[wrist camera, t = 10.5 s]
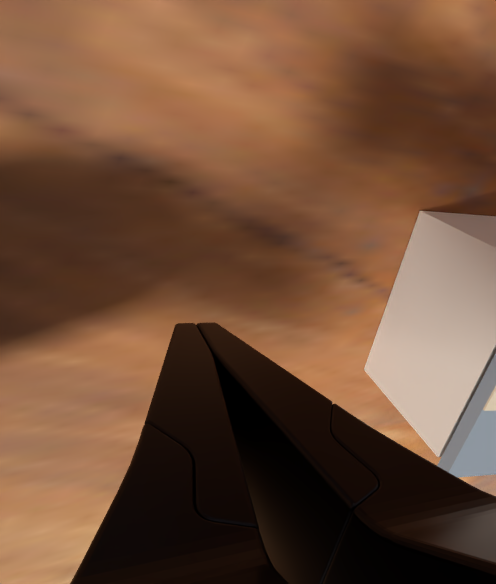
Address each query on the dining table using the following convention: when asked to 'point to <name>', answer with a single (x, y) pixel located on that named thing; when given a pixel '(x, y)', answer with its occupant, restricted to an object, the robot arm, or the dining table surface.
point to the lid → (475, 433)
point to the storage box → (439, 324)
